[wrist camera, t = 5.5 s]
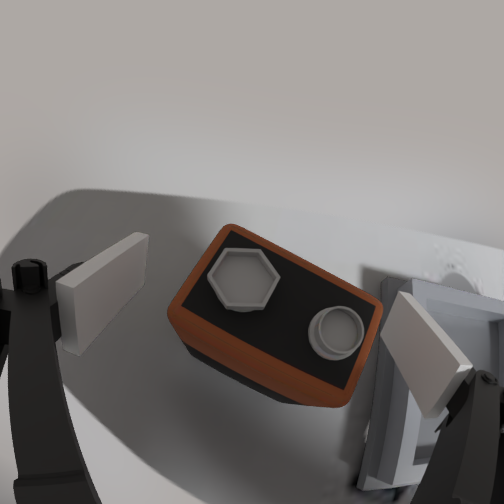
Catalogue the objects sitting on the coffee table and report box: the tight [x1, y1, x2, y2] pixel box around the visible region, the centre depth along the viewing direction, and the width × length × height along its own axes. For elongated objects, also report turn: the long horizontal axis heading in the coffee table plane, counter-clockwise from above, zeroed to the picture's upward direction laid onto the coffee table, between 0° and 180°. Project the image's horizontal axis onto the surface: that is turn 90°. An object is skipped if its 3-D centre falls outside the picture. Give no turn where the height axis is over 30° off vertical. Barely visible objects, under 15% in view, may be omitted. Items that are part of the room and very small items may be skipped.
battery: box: [167, 224, 383, 408], centre depth 13 cm, size 4×7×10 cm, turn 62°
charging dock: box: [356, 277, 504, 491], centre depth 16 cm, size 15×15×3 cm
